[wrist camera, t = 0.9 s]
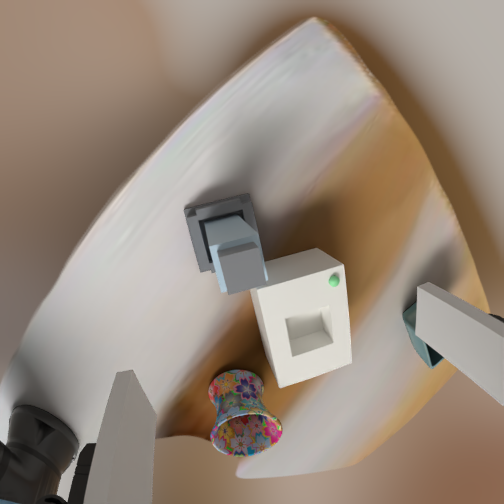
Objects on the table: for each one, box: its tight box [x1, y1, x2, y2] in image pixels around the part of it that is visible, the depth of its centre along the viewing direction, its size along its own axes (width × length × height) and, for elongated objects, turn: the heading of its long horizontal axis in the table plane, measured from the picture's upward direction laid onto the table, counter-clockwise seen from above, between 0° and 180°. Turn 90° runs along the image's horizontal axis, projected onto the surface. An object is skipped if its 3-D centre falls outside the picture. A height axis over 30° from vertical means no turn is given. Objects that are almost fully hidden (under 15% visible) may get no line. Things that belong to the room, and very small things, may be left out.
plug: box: [204, 214, 268, 295], centre depth 30 cm, size 4×4×15 cm
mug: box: [208, 370, 282, 457], centre depth 39 cm, size 12×9×11 cm
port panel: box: [250, 248, 352, 388], centre depth 38 cm, size 10×14×8 cm
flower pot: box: [403, 302, 444, 369], centre depth 43 cm, size 9×9×9 cm
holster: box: [184, 194, 263, 273], centre depth 36 cm, size 8×8×2 cm
